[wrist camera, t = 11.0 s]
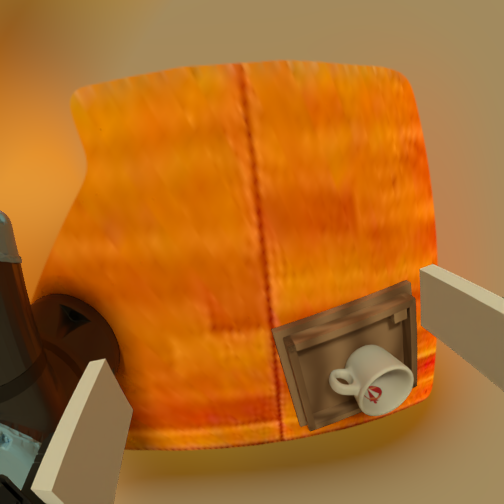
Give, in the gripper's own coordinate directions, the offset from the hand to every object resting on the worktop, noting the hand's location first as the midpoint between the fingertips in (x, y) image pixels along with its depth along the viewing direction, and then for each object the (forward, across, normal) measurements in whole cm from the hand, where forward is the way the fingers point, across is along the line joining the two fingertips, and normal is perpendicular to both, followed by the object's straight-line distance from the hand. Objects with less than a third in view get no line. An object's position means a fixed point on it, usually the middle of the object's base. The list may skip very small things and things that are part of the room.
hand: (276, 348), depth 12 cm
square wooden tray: (+26, +12, -22) cm, 37 cm away
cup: (+25, +12, -22) cm, 36 cm away
